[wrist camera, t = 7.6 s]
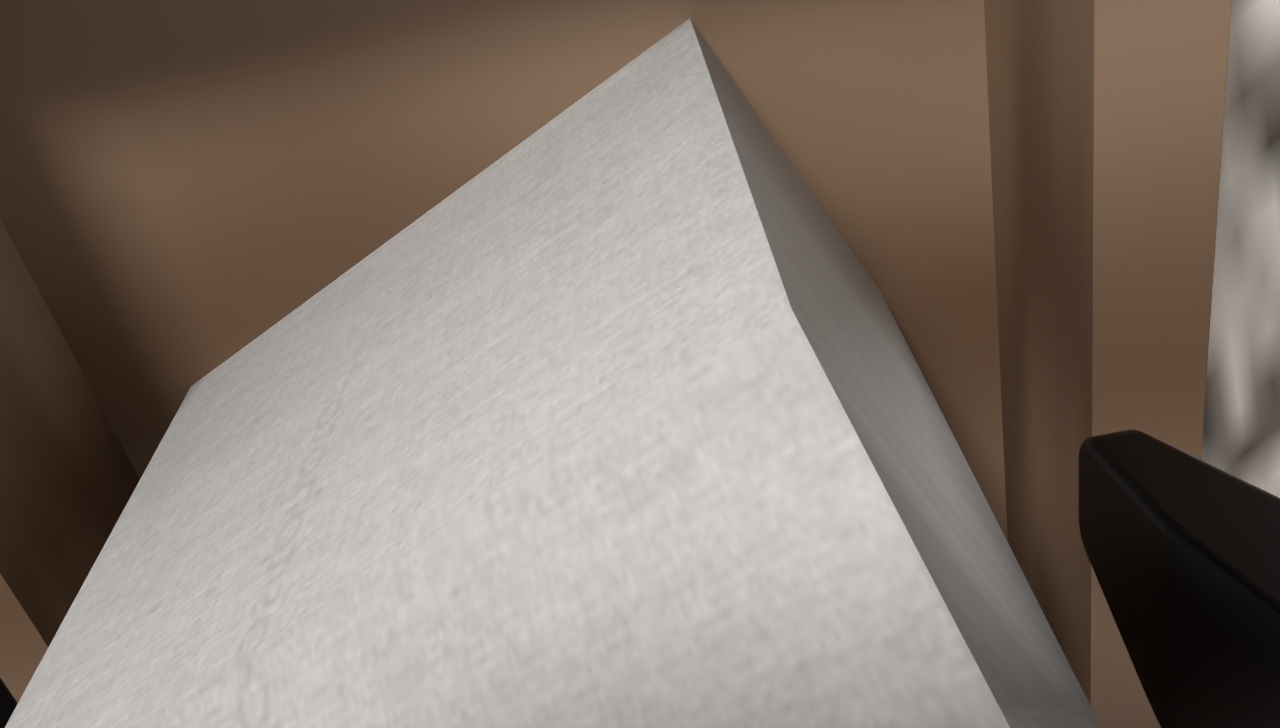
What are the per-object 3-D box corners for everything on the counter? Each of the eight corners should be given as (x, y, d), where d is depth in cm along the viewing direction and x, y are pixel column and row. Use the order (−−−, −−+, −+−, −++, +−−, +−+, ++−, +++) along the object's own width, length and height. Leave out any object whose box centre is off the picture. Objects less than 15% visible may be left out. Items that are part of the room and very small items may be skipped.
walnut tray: (1065, 642, 17) (1174, 855, 14) (267, 786, 17) (203, 1019, 14) (1052, -575, 9) (1278, -696, 6) (-307, -244, 10) (-680, -213, 7)
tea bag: (191, 386, 13) (-609, 1854, 4) (689, 18, 11) (1124, 1249, 2) (414, 584, 14) (176, 1933, 6) (881, 291, 13) (1552, 1616, 4)
